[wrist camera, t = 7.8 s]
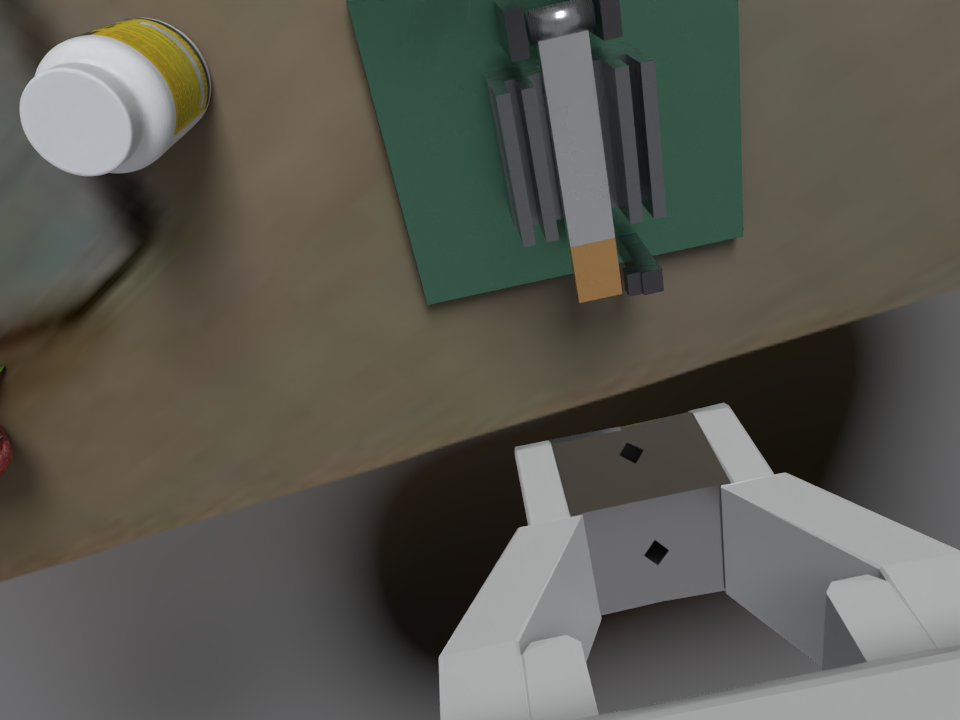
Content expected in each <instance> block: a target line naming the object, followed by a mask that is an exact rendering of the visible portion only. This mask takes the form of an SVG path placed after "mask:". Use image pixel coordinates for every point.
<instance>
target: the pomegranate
mask: <svg viewBox="0 0 960 720" xmlns="http://www.w3.org/2000/svg"><path fill="white" fill-rule="evenodd" d="M4 367H5V366H4V365H3V366H2V367H1V368H0V372H1V371H2V370H3V368H4ZM11 458H12V447H11V445H10V442H9V439H8V438H7V435H6V433H5V431H4V429H3V427H2V426H1V425H0V476H1V475H2V474H3V473H4V471H5V469H6V468H7V467H8V465H9V463H10V461H11Z"/></svg>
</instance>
